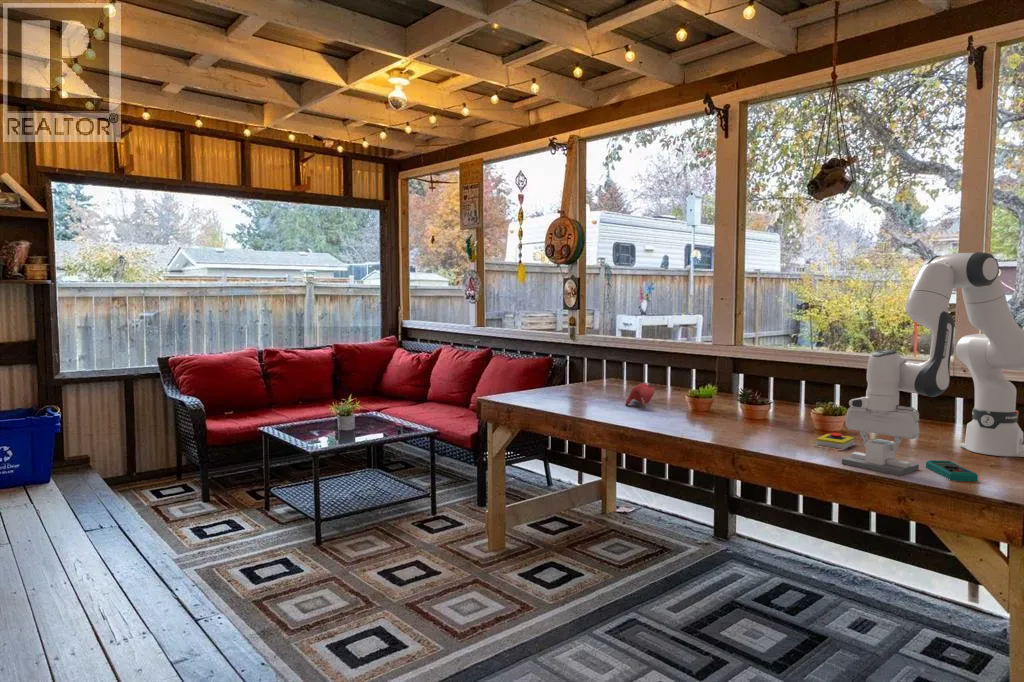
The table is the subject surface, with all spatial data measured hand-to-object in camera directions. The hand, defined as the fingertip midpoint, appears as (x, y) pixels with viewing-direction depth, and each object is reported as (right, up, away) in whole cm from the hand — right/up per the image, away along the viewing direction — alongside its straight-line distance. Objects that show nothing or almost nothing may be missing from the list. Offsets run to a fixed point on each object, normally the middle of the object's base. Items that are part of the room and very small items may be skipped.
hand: (880, 448), depth 202 cm
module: (0, -4, 0) cm, 4 cm away
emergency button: (0, -4, +28) cm, 28 cm away
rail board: (0, -6, 0) cm, 6 cm away
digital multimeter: (+16, -7, -8) cm, 19 cm away
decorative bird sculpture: (-53, +2, +110) cm, 122 cm away
